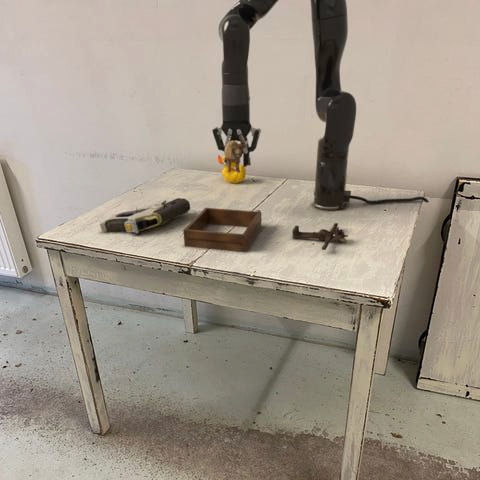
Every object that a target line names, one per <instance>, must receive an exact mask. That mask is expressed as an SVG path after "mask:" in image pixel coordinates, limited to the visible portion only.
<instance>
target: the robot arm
mask: <svg viewBox="0 0 480 480" xmlns="http://www.w3.org/2000/svg"><path fill="white" fill-rule="evenodd" d="M279 1H280V0H238V1H237V2H236V3H235V4H234V5H233V6H232V7H231V8H230V9H229V11H227V12H226V14H225V15H224V16H223V17H222V19H221V20H220V21H219V25H218V30H217V31H218V37H219V39H220V40H221V42H222V55H223V58H222V61H221V114H222V115H221V116H222V124H221V126H219V127H218V126H216V127H214V128H213V129H212V134H213V138H214V141H215V143H216V144H215V145H216V147H217V149H218V151H222V152H223V154H224V153H225V146H226V144H227V143H228V142H229V141H236V142H240V143H241V146H242V147H243V151H244V154H242V157H243V158H242V160H243V163H242V165H243V166H244V167H245V168H247V167H248V164H249V162H251V158H250V159H249V157H250V153H253V152H254V151H256V148H257V146H258V142H259V140H260V137H261V132H262V129H261V128H260V127H259V128H255V127H253V126H252V124H251V113H250V112H251V110H250V109H251V107H250V105H251V103H250V101H251V96H250V87H249V56H250V43H251V33H250V32H251V30H252V29H253V27H254V26H255V25H256V24H257V22H259V21H260V20H262V19H263V18H265V17H266V16H267V15H268V14H269V13H270V12H271V10H272V9H273V8H274V7H275V5H276V4H277V3H278V2H279ZM309 1H310V18H311V32H312V40H313V41H312V42H313V55H314V56H313V57H314V67H315V68H314V69H315V99H314V100H315V101H314V102H315V104H314V105H315V112H316V113H315V114H316V115H317V117H318V119H319V120H320V121H321V122H322V123H324V124H325V127H324V135H323V136H322V137H320V138H318V140H317V149H316V153H317V154H316V162H315V163H316V166H315V181H314V191H313V196H314V197H313V206H314V208H317V209H319V210H324V211H336V210H344V209H343V208H344V206H345V203H346V204H350V201H351V200H358V201H362V202H364V203H366V204H369V205H378V204H385V203H404V202H405V203H407V202H409V203H411V202H415V201H423V202H424V203H429V200H428V199H427V197H424V196H415V197H410V198H409V197H408V198H384V199H378V200H369V199H366V198H365V197H362V196H357V195H352V190H346V189H347V188H346V187H347V178H348V174H347V173H348V161H349V151H350V145H351V143H352V140H353V138H354V131H355V125H356V118H357V102H356V99H355V97H354V96H353V94H351V93H350V92H348V91H344V90H342V85H341V63H342V60H343V59H342V58H343V56H344V52H345V49H346V45H347V40H348V33H349V24H348V22H349V21H348V6H347V5H348V4H347V0H309ZM250 133H251V136H252V140H251V144H249V140H248V136H249V134H250ZM222 134H224V136H225V137H226V138H225V144H224V139H223V137H222ZM240 143H239V144H240ZM225 163H226V164H227V160H226V159H225ZM227 166H228V165H227Z"/></svg>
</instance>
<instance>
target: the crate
mask: <svg viewBox="0 0 480 480" xmlns="http://www.w3.org/2000/svg"><path fill="white" fill-rule="evenodd" d="M262 220H263V219H262V211H255V210H241V209H228V208H217V207H216V208H215V207H204V208H203V209H202V210H201V211H200V212H199V214H197V215H196V217H194V219H193V220H191V222H190V223H189V224H188V225H186V227H185V228H184V229H183V230H182V231H183V232H182V233H183V243H184V247H191V248H199V249H200V248H201V249H211V250H223V251H231V252H240V253H242V252H243V253H246V252H247V251H248V248H250V245H251V244H252V243H253V241H254V239H255V238H256V236H257V234H258V233H259V231H260V230H261V229H262ZM210 224H212V225H222V226H231V227H243V228H244V227H245V228H246V229H245V230H244V232H243V233H234V232H225V231H224V232H223V231H222V232H221V231H210V230H204V229H205V228H206V227H207V225H210Z"/></svg>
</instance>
